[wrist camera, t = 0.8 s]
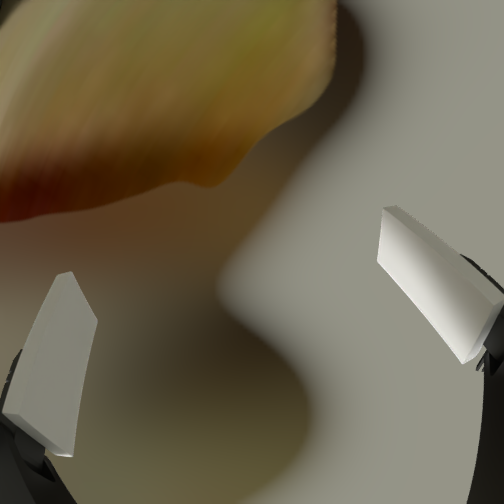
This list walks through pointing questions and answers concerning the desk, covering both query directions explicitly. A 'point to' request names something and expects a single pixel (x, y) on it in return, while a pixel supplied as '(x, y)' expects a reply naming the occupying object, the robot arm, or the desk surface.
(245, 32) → the desk surface
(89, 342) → the robot arm
